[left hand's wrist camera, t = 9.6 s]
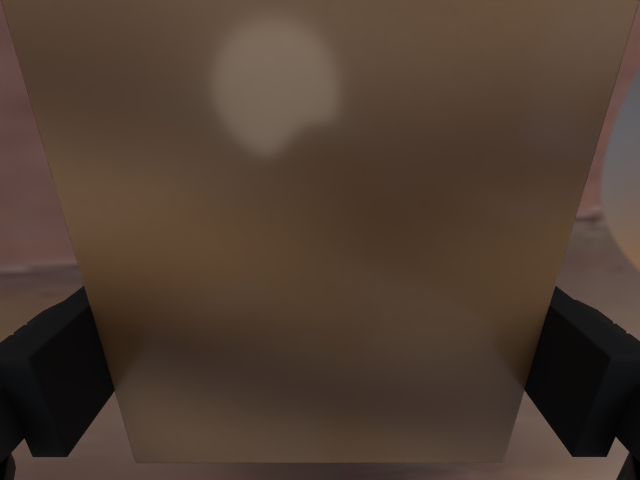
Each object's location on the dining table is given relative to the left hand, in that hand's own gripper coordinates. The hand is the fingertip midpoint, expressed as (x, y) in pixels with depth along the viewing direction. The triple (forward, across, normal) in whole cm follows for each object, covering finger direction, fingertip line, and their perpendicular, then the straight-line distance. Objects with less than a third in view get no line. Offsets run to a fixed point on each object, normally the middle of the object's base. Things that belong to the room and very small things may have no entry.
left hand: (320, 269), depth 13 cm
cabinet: (+5, 0, -6) cm, 7 cm away
